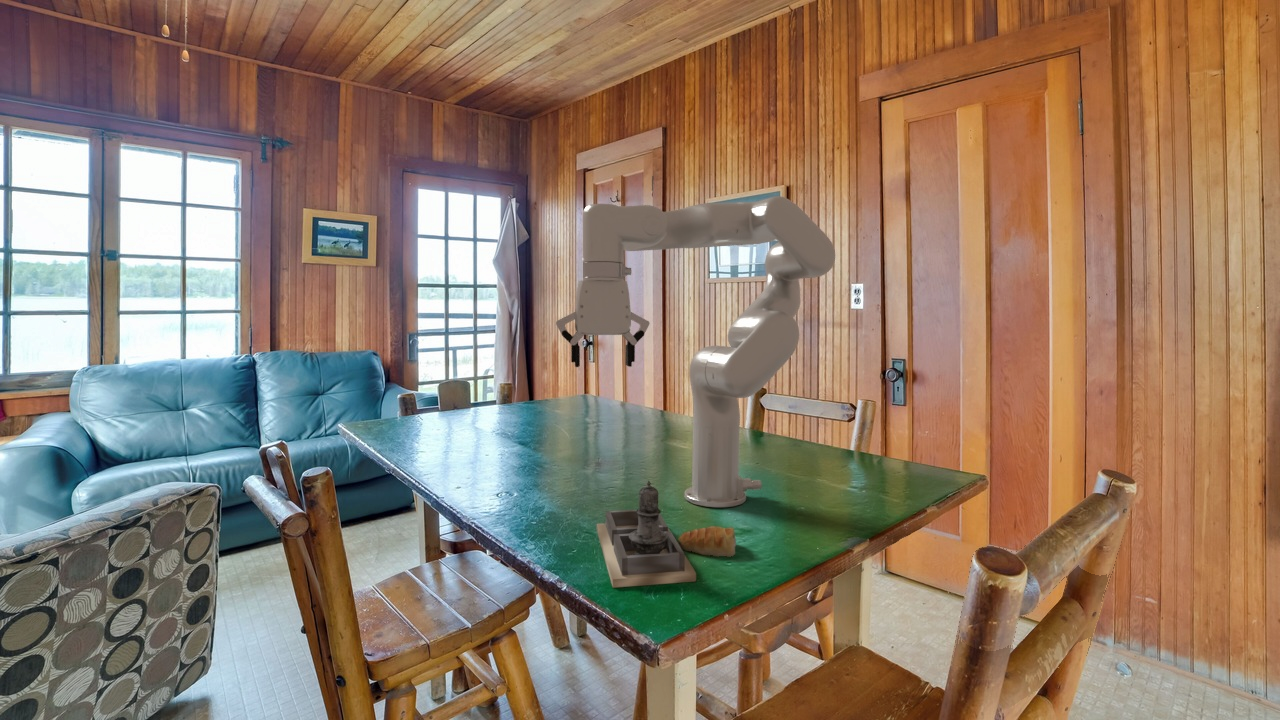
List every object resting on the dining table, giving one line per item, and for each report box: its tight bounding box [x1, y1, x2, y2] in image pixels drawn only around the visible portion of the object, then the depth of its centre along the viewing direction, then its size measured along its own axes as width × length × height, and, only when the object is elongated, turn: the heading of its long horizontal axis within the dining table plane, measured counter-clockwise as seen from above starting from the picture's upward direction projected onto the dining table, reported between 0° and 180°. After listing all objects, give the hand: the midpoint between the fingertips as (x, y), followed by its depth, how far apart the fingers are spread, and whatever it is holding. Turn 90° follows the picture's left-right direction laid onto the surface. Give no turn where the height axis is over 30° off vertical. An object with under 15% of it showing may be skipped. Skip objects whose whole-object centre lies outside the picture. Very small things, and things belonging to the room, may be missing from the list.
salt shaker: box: [629, 480, 668, 555], centre depth 88 cm, size 6×6×12 cm
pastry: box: [677, 525, 737, 558], centre depth 96 cm, size 9×7×4 cm
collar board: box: [596, 509, 697, 589], centre depth 94 cm, size 12×22×4 cm, turn 10°
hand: (603, 366), depth 109 cm, fingers open, 9 cm apart
